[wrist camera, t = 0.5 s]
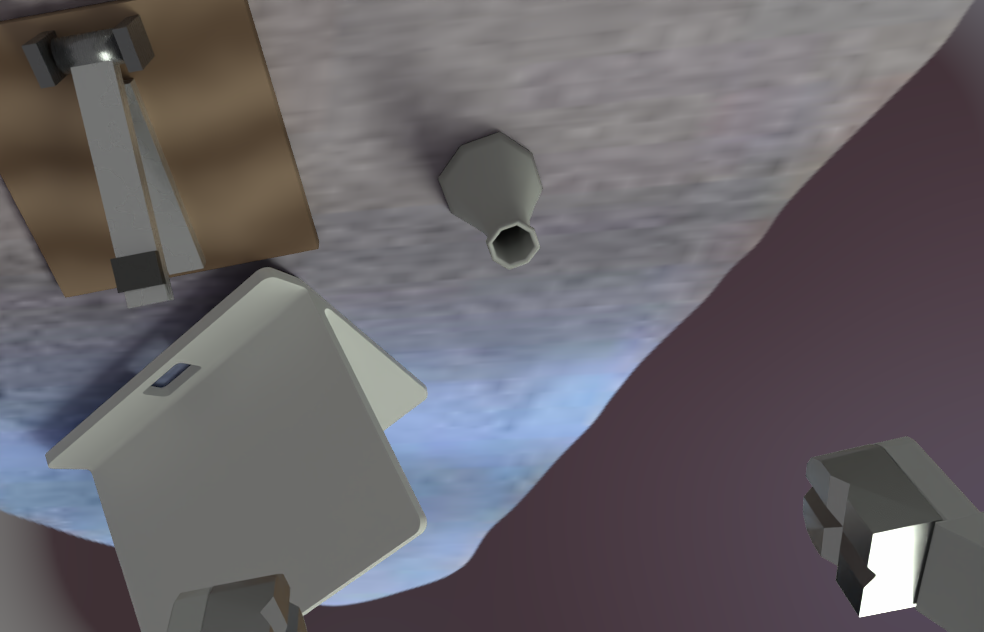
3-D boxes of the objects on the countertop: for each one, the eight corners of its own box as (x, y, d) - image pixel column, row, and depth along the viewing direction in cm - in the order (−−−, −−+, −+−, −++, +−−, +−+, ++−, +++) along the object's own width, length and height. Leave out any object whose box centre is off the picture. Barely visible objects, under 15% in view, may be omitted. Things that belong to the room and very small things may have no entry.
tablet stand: (431, 388, 66) (451, 545, 52) (227, 542, 72) (195, 721, 58) (265, 248, 57) (235, 393, 43) (49, 439, 63) (-40, 620, 49)
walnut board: (-63, 32, 46) (-72, 37, 45) (240, -22, 47) (238, -18, 46) (70, 289, 56) (65, 297, 55) (319, 241, 57) (318, 248, 56)
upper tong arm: (64, 43, 46) (46, 33, 44) (125, 32, 47) (110, 22, 44) (128, 308, 48) (113, 311, 46) (186, 297, 48) (175, 299, 46)
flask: (419, 175, 55) (430, 239, 47) (502, 112, 54) (528, 167, 46) (480, 245, 59) (500, 316, 51) (558, 188, 58) (592, 252, 49)
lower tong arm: (40, 32, 46) (21, 46, 43) (139, 14, 46) (126, 27, 44) (148, 272, 55) (137, 295, 52) (230, 256, 55) (223, 279, 53)
